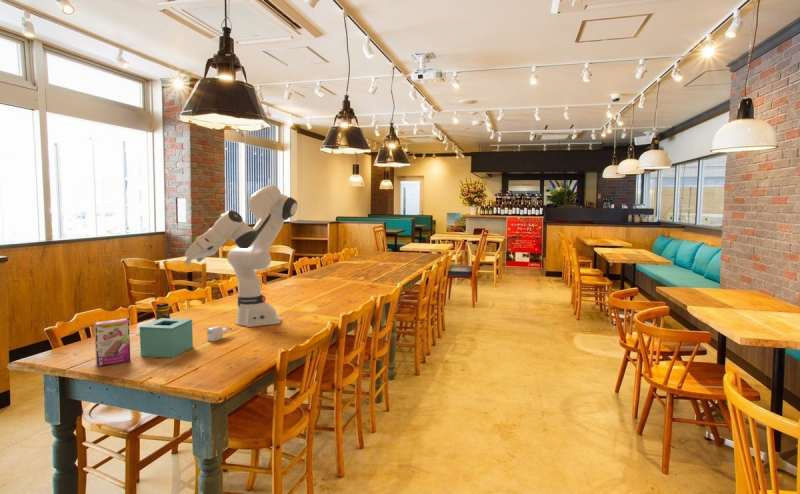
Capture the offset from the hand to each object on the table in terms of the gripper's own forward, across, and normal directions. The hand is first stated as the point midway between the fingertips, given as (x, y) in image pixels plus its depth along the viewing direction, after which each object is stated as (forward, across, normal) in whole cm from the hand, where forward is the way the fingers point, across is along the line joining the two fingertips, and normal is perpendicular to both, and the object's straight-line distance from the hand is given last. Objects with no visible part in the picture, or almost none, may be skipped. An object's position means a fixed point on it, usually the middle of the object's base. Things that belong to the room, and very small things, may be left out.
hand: (192, 262), depth 205 cm
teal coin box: (+27, +16, +23) cm, 39 cm away
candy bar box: (+36, +32, +15) cm, 50 cm away
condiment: (+45, -17, +6) cm, 48 cm away
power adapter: (+18, -4, +32) cm, 37 cm away
